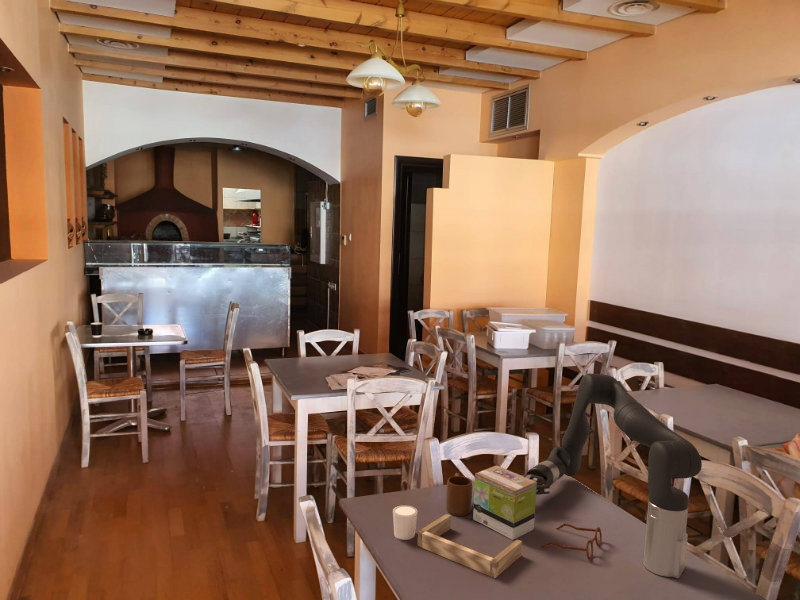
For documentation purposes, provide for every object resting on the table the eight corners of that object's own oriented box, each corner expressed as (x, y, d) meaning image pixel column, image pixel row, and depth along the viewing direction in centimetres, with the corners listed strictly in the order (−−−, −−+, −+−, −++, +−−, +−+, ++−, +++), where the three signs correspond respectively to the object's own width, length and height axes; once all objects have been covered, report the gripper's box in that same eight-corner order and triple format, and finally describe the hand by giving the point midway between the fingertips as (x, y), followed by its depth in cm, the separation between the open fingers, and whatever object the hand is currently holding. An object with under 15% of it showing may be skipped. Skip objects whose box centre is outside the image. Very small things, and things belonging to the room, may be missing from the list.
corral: (521, 555, 164) (522, 541, 164) (495, 578, 154) (495, 562, 153) (446, 527, 179) (446, 513, 178) (417, 545, 168) (417, 531, 167)
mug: (443, 498, 197) (444, 469, 196) (467, 498, 197) (469, 470, 196) (447, 516, 185) (448, 485, 184) (472, 516, 185) (474, 486, 184)
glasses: (588, 563, 162) (590, 545, 162) (540, 548, 169) (541, 531, 169) (602, 542, 173) (603, 525, 173) (556, 529, 180) (557, 512, 180)
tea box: (471, 520, 183) (473, 472, 181) (494, 511, 190) (496, 463, 188) (512, 541, 172) (515, 489, 170) (535, 530, 179) (538, 480, 177)
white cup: (395, 542, 169) (396, 517, 169) (389, 530, 176) (389, 506, 175) (420, 539, 171) (420, 515, 170) (412, 527, 178) (413, 503, 177)
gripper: (524, 459, 203) (498, 474, 190) (563, 469, 195) (538, 487, 182) (523, 481, 204) (497, 498, 191) (562, 492, 196) (537, 512, 183)
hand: (517, 493), depth 186 cm, fingers closed
